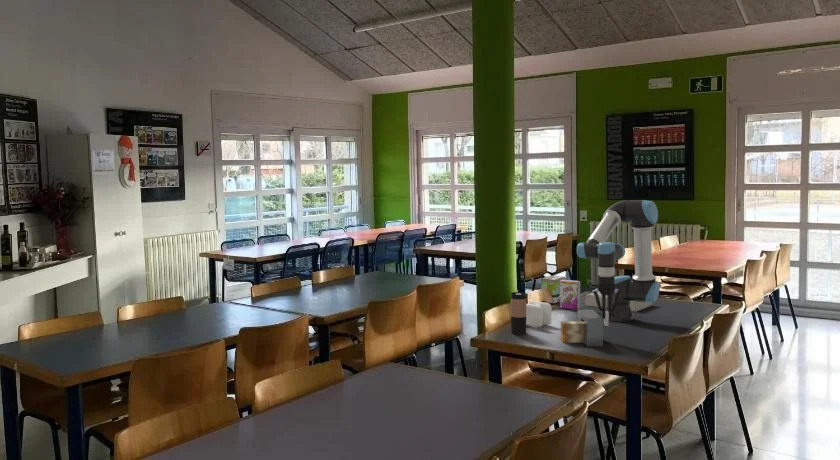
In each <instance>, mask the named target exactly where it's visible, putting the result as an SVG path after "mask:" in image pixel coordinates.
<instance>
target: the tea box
mask: <svg viewBox="0 0 840 460" xmlns="http://www.w3.org/2000/svg"><path fill="white" fill-rule="evenodd" d="M565 277H566V276H558V275H549V276H546V277H541V287H540V288H541V289H544V288H548V289H551V292H552V293H551V294H552V298H553V300H554V302H553V301H548V302H547V303H549V304H557V303H559V294H560V293H559V292H560V280H566V278H565ZM541 289H540V290H541Z"/></svg>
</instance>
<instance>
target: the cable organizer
mask: <svg viewBox="0 0 840 460" xmlns="http://www.w3.org/2000/svg"><path fill="white" fill-rule="evenodd" d="M552 308H553V307H552V305H551V303H548V302H541V301H536V300H532V301H529V303H526V327H532V328H535V329H538V328H541V327H543V326H548V325H551V324H552Z"/></svg>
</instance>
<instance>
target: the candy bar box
mask: <svg viewBox="0 0 840 460" xmlns="http://www.w3.org/2000/svg"><path fill="white" fill-rule="evenodd" d="M559 293H560V294H559V302H558V303H559V309H563V310H574V311H575V310H576V311H578V310H581V280H580V281H579V280H571V279H565V280H560V292H559Z"/></svg>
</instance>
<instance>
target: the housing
mask: <svg viewBox="0 0 840 460" xmlns="http://www.w3.org/2000/svg"><path fill="white" fill-rule="evenodd" d="M577 321H584V342H583V344H585V346H586V347H603V345H604V319H603V318H602V315H600V314H598V313H597V312H596V311H595V310H594V309H578V310H577Z"/></svg>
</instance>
